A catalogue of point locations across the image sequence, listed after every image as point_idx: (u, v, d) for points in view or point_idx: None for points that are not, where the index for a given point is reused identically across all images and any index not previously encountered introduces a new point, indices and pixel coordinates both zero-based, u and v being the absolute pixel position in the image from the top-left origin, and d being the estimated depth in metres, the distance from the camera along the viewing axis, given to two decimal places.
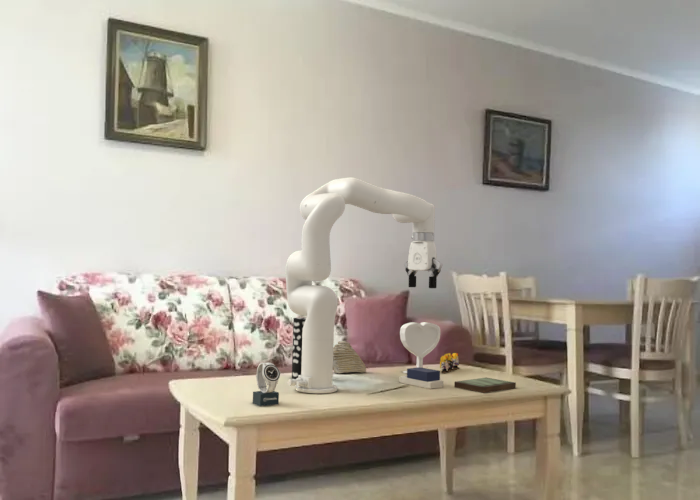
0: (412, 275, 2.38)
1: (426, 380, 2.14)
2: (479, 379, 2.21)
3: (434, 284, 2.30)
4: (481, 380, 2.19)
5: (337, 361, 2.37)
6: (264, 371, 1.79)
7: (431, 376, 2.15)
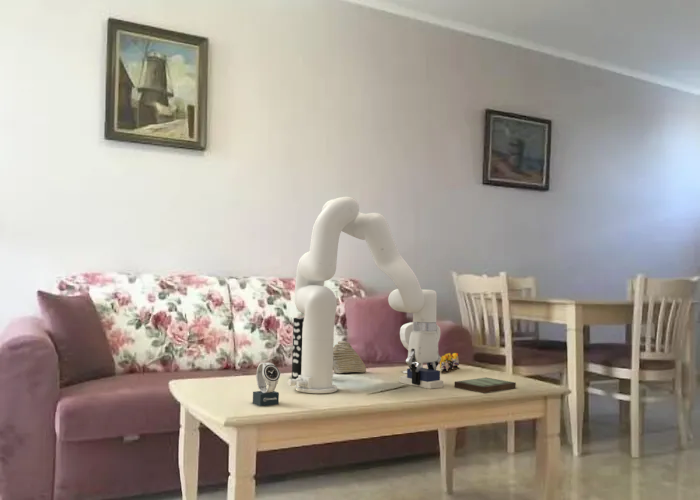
0: None
1: (426, 380, 2.14)
2: (479, 379, 2.21)
3: (413, 380, 2.16)
4: (481, 380, 2.19)
5: (337, 361, 2.37)
6: (264, 371, 1.79)
7: (431, 376, 2.15)
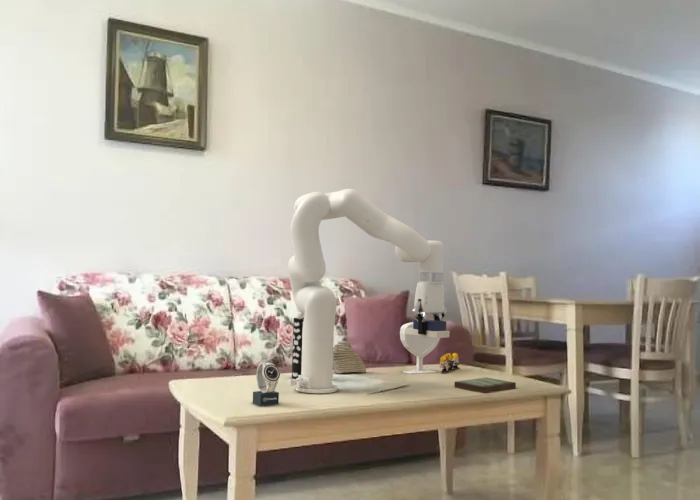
0: None
1: (432, 330, 2.14)
2: (479, 379, 2.21)
3: (419, 330, 2.16)
4: (481, 380, 2.19)
5: (337, 361, 2.37)
6: (264, 371, 1.79)
7: (437, 326, 2.15)
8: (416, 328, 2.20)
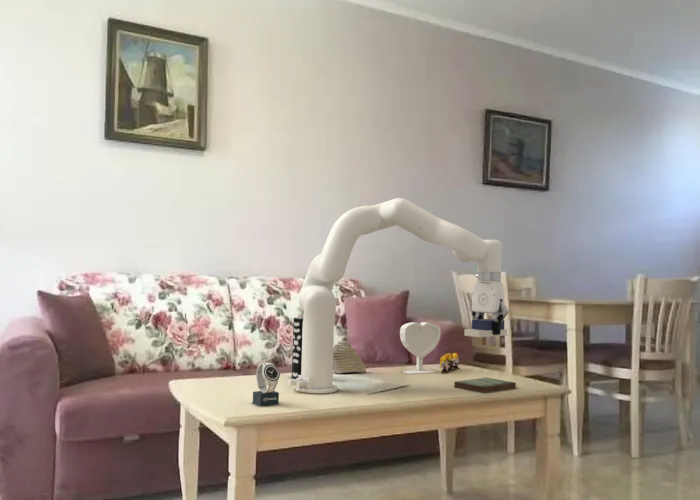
0: None
1: (503, 328, 2.19)
2: (479, 379, 2.21)
3: (498, 330, 2.15)
4: (481, 380, 2.19)
5: (337, 361, 2.37)
6: (264, 371, 1.79)
7: None
8: (489, 329, 2.14)
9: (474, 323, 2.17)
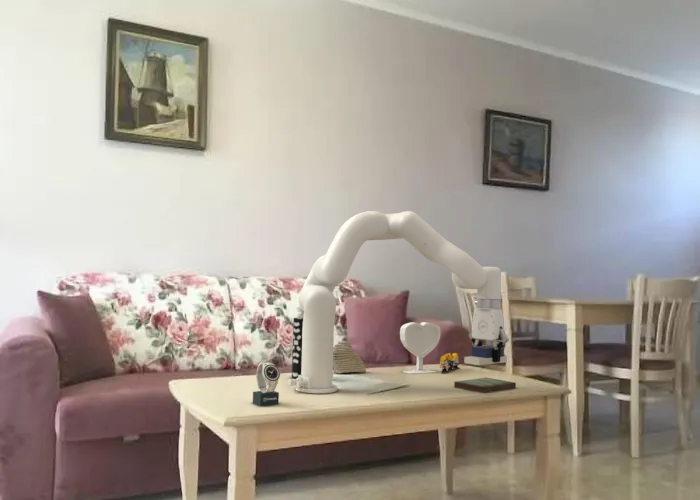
0: None
1: (503, 355, 2.18)
2: (479, 379, 2.21)
3: (498, 358, 2.15)
4: (481, 380, 2.19)
5: (337, 361, 2.37)
6: (264, 371, 1.79)
7: None
8: (489, 357, 2.14)
9: (474, 350, 2.17)
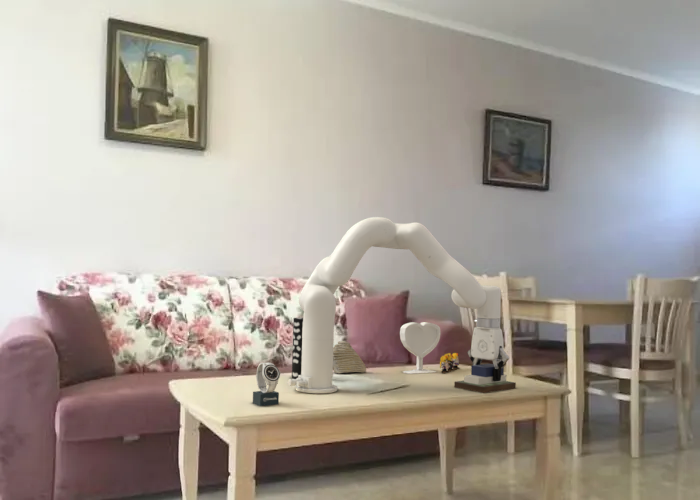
0: None
1: (502, 374, 2.18)
2: None
3: (499, 377, 2.14)
4: None
5: (337, 361, 2.37)
6: (264, 371, 1.79)
7: None
8: (489, 376, 2.14)
9: (473, 369, 2.16)
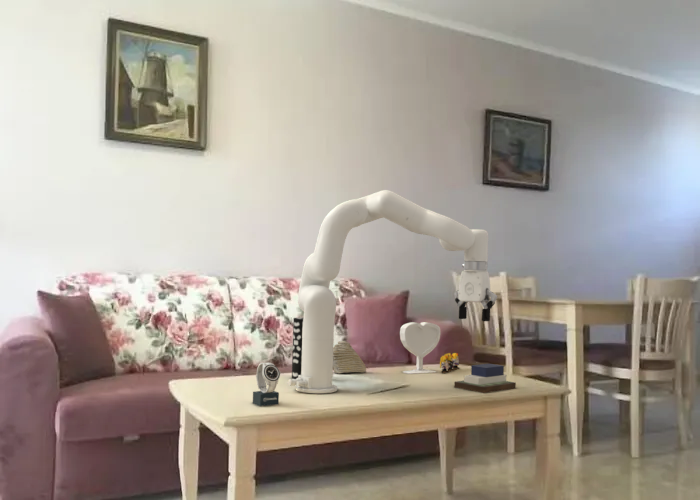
0: (462, 306, 2.23)
1: (502, 374, 2.18)
2: None
3: (488, 317, 2.15)
4: None
5: (337, 361, 2.37)
6: (264, 371, 1.79)
7: None
8: (489, 376, 2.14)
9: (473, 369, 2.16)
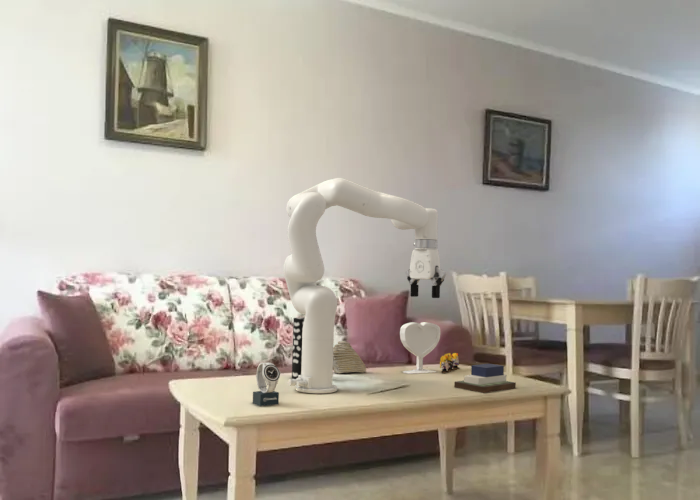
0: (414, 284, 2.27)
1: (502, 374, 2.18)
2: None
3: (437, 294, 2.19)
4: None
5: (337, 361, 2.37)
6: (264, 371, 1.79)
7: None
8: (489, 376, 2.14)
9: (473, 369, 2.16)
